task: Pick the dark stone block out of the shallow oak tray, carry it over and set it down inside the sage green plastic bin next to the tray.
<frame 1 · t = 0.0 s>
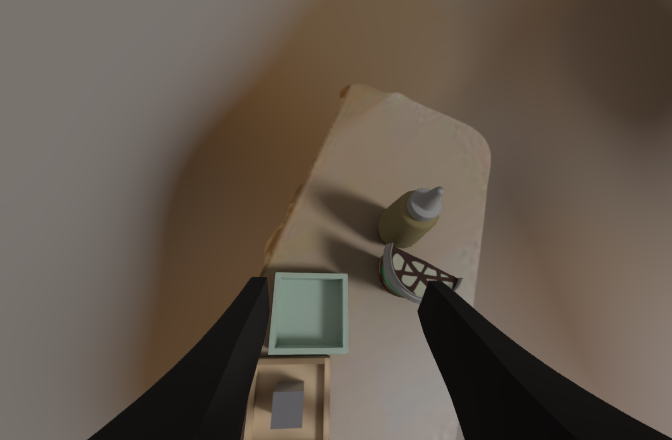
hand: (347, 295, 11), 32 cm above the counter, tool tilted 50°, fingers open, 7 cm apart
green bin: (310, 311, 40), on the counter
food container: (396, 285, 44), on the counter
squeeze bottle: (392, 232, 47), on the counter
oak tray: (290, 400, 36), on the counter
stone block: (290, 397, 35), point 1 cm above the counter, touching oak tray
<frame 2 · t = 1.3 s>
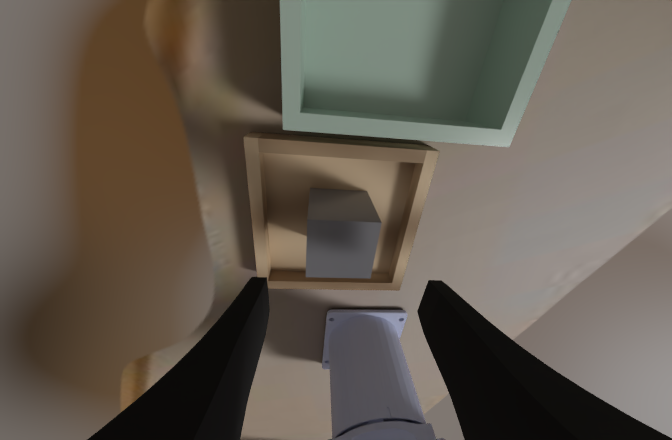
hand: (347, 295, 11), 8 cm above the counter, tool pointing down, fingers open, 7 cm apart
green bin: (401, 10, 13), on the counter
oak tray: (335, 216, 18), on the counter
stone block: (336, 214, 18), point 1 cm above the counter, touching oak tray
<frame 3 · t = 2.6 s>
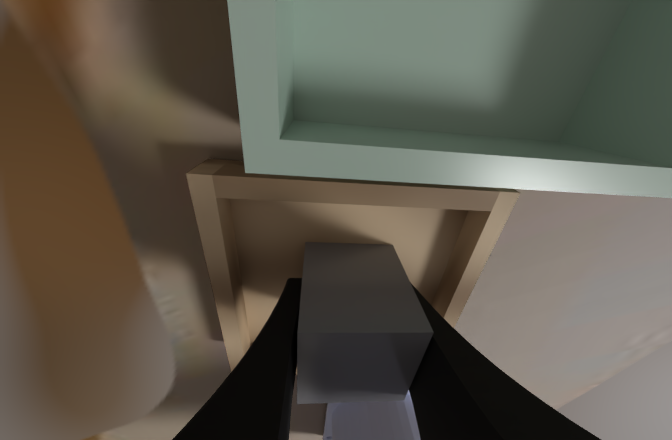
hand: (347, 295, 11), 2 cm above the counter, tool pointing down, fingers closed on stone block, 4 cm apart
oak tray: (343, 275, 13), on the counter
stone block: (345, 276, 12), point 1 cm above the counter, touching gripper, oak tray
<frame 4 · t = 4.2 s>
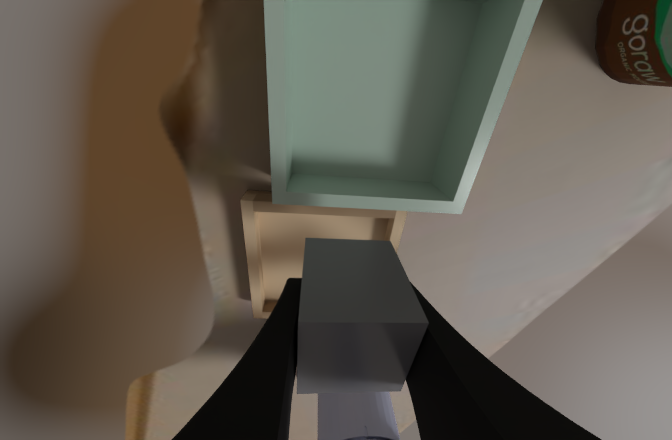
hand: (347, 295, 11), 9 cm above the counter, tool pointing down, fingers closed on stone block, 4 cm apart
green bin: (373, 99, 15), on the counter
food container: (630, 41, 15), on the counter
oak tray: (321, 256, 21), on the counter
stone block: (344, 272, 12), point 8 cm above the counter, touching gripper
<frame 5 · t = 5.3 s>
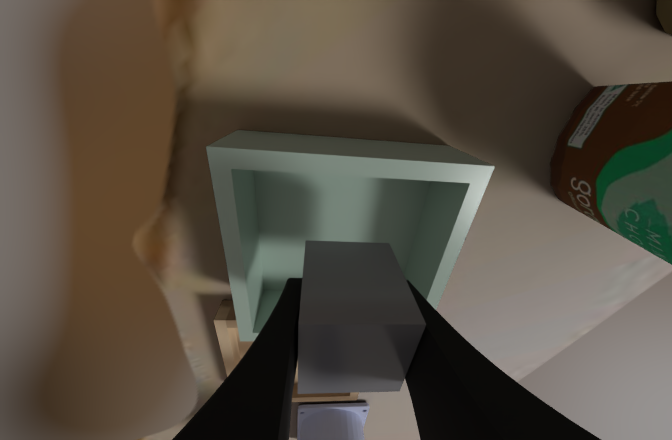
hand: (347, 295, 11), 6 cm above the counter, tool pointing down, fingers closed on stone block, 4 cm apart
green bin: (338, 229, 16), on the counter
food container: (585, 176, 15), on the counter
oak tray: (298, 346, 22), on the counter
stone block: (343, 274, 12), point 4 cm above the counter, touching gripper
when the fingers open (3 cm above the counter, at t = 6.1 s): stone block drops 1 cm, resting on green bin.
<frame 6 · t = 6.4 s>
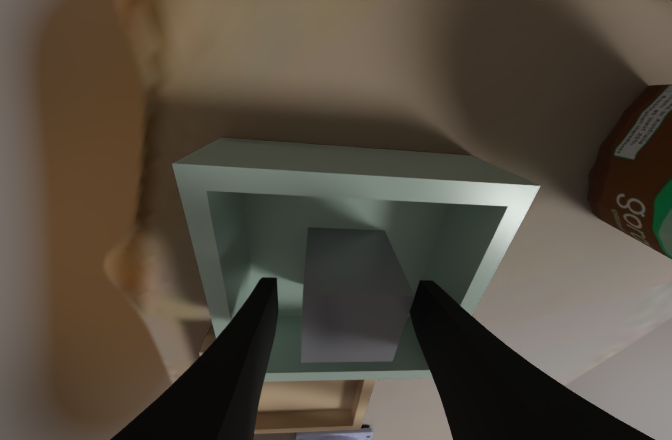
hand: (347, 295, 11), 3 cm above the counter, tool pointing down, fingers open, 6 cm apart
green bin: (341, 250, 14), on the counter
food container: (626, 189, 13), on the counter
oak tray: (296, 373, 19), on the counter
stone block: (343, 259, 13), point 1 cm above the counter, touching green bin
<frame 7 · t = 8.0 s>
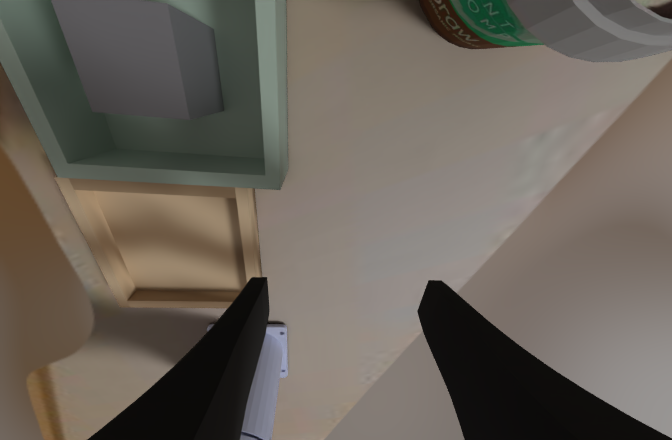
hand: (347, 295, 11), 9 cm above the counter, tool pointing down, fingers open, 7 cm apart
green bin: (186, 65, 14), on the counter
food container: (461, 0, 13), on the counter
oak tray: (187, 241, 20), on the counter
stone block: (182, 69, 13), point 1 cm above the counter, touching green bin
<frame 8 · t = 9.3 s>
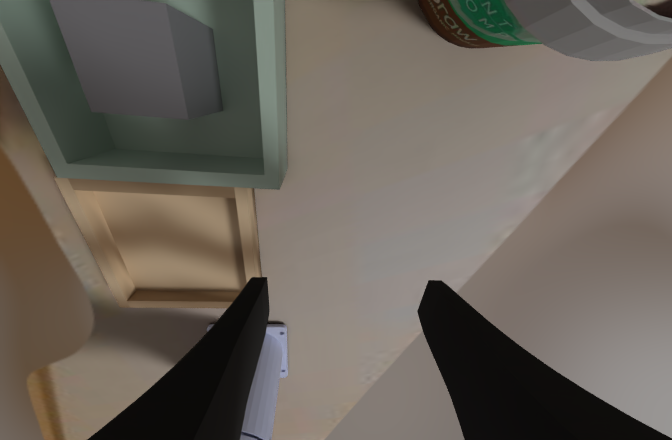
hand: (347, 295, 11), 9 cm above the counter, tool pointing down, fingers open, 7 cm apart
green bin: (185, 65, 14), on the counter
oak tray: (186, 241, 20), on the counter
stone block: (181, 69, 13), point 1 cm above the counter, touching green bin
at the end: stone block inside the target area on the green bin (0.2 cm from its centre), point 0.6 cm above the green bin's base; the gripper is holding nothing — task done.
